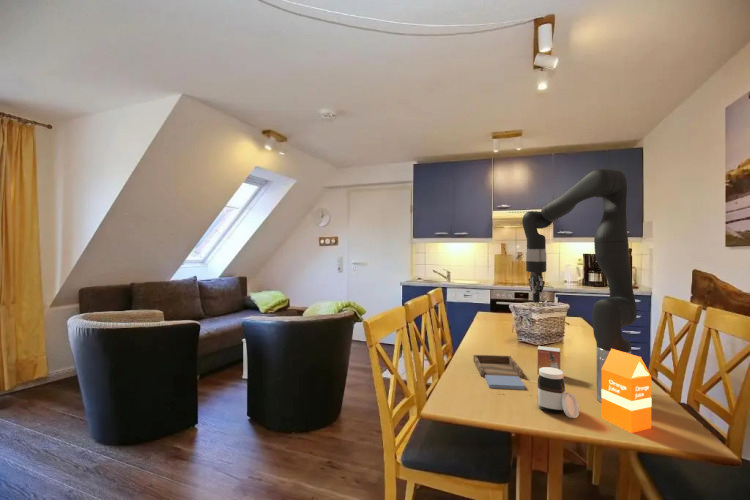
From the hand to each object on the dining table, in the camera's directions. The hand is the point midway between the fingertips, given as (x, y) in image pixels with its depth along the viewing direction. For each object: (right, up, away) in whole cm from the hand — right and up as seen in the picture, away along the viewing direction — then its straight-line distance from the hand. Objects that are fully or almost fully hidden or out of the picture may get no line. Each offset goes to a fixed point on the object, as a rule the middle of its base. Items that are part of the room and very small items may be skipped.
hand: (536, 302), depth 144 cm
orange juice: (+5, -28, -45) cm, 53 cm away
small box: (+1, -27, -8) cm, 29 cm away
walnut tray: (-17, -27, -3) cm, 32 cm away
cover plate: (-20, -28, -18) cm, 38 cm away
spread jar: (-10, -28, -37) cm, 47 cm away
